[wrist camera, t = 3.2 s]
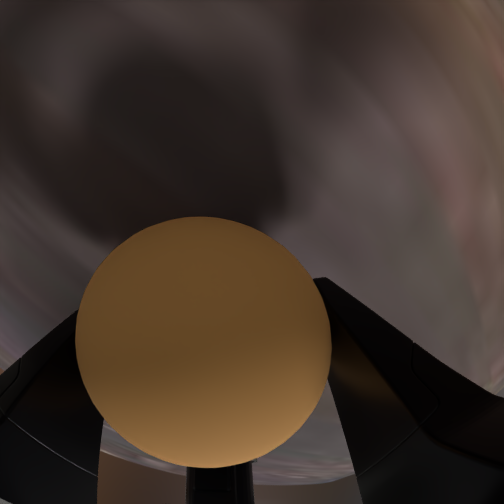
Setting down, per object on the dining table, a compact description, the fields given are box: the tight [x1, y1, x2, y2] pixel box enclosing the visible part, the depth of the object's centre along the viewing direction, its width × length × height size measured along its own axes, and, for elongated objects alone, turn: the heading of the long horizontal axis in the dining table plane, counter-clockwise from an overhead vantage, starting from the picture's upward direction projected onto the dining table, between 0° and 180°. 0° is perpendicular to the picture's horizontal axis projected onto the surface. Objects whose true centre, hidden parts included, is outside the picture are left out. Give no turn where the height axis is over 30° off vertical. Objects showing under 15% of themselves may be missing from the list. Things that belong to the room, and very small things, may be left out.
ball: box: [75, 216, 332, 468], centre depth 6 cm, size 6×6×6 cm
